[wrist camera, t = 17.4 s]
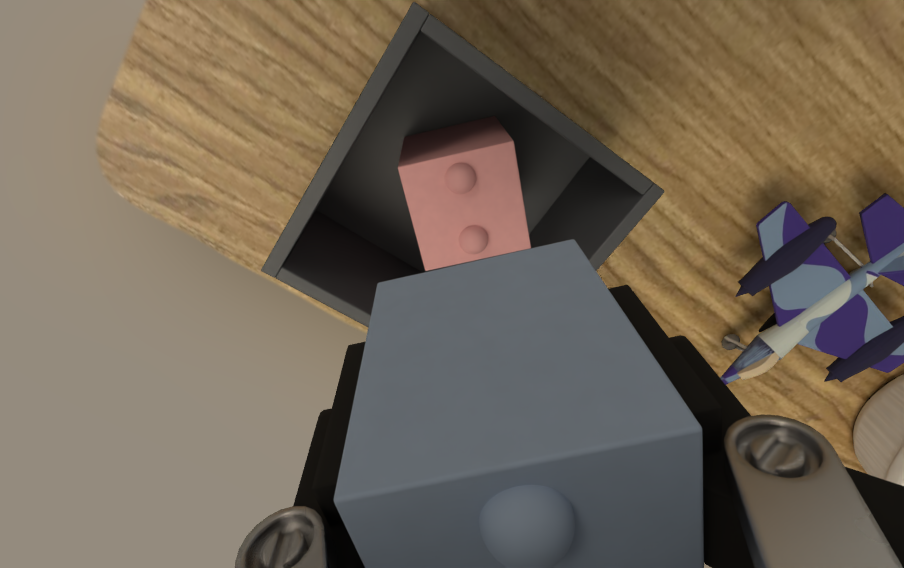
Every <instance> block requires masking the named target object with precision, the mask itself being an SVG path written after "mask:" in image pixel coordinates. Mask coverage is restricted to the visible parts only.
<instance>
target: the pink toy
mask: <svg viewBox="0 0 904 568" xmlns="http://www.w3.org/2000/svg"><path fill="white" fill-rule="evenodd" d="M398 171H399V175H400V178H401V182H402V186H403V190H404V193H405V197H406V201H407V205H408V208H409V212H410V216H411V219H412V223H413V227H414V231H415V234H416V238H417V242H418V245H419V249H420V253H421V257H422V260H423V264H424V268H425V270H426V271H428V270H433V269H438V268H442V267H447V266H451V265H456V264H461V263H465V262H470V261H474V260H479V259H484V258H488V257H493V256H497V255H502V254H507V253H511V252H516V251H520V250H525V249H530V248H531V244H530V238H529V232H528V226H527V220H526V213H525V207H524V201H523V195H522V189H521V182H520V176H519V170H518V164H517V158H516V152H515V145H514V141H513V140H512V138H511V137H510V136H509V134H508V133H507V132H506V130H505V129H504V128H503V126H502V125H501V124H500V122H499V121H498V119H497V118H496V117H495V116H492V117H488V118H483V119H479V120H475V121H470V122H466V123H462V124H458V125H453V126H449V127H445V128H440V129H436V130H432V131H428V132H423V133H419V134H415V135H410V136H406V137H404V140H403V145H402V150H401V155H400V160H399V164H398Z"/></svg>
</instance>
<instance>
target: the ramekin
mask: <svg viewBox="0 0 904 568" xmlns="http://www.w3.org/2000/svg"><path fill="white" fill-rule="evenodd" d="M853 441H854V450H855V454H856V456H857V458H858V460H859V462H860V464H861V465H862V467H863V468H864V469H865V471H866V472H867V473H868V475H871V476H875V477H878V478H881V479H884V480H887V481H890V482H893V483H896V484H899V485H902V486H904V374H903V375H901V376H899V377H897V378H895V379H894V380H892V381H891V382H889V383H888V384H886V385H885V386H883V387H882V388H881V389H880V390H878V391H877V392H876V393H875V394H874V395H873V396H872V397H871V398H870V399H869V400H868V401H867V403H866V404H865V405H864V406H863V408H862V410H861V411H860V413H859V415H858V417H857V419H856V422H855V425H854V430H853Z"/></svg>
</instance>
